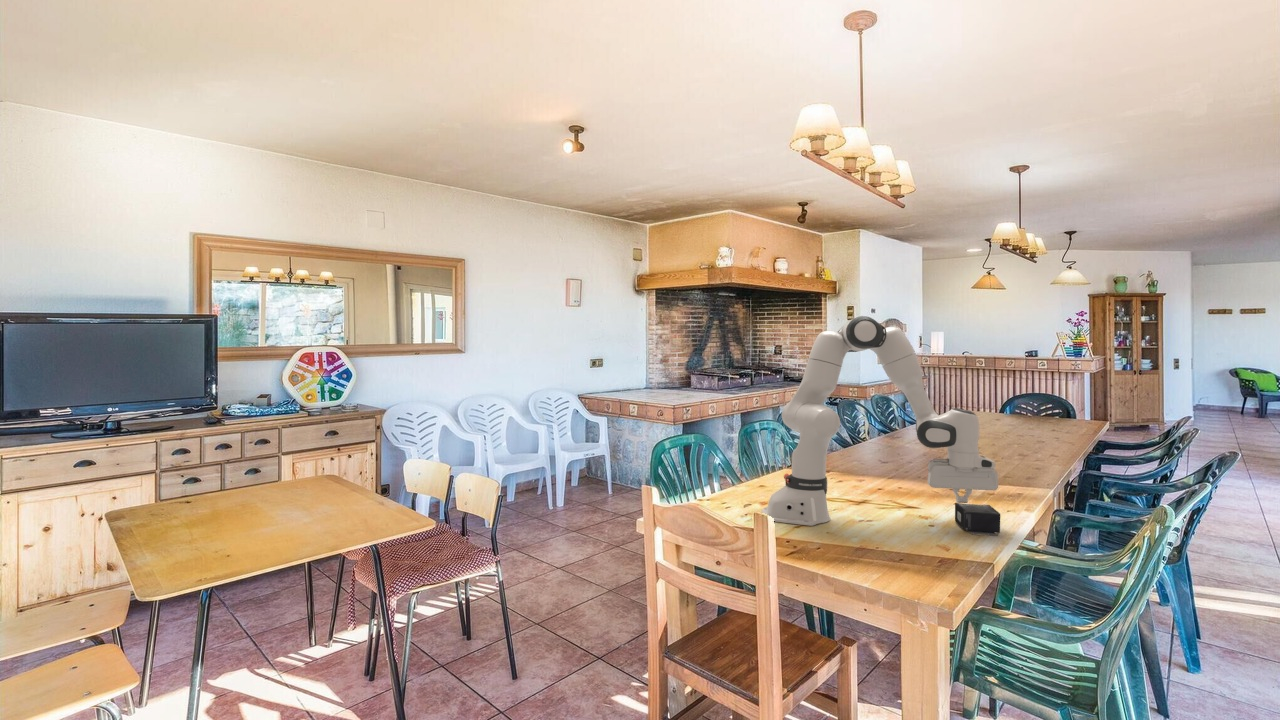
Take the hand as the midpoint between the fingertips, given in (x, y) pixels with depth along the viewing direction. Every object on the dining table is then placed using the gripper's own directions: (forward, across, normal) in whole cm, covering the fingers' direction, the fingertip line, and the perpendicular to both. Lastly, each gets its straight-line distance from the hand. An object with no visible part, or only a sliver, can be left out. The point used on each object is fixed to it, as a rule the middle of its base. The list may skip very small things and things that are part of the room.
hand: (961, 502), depth 195 cm
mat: (+8, +5, 0) cm, 9 cm away
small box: (+5, -1, 0) cm, 5 cm away
